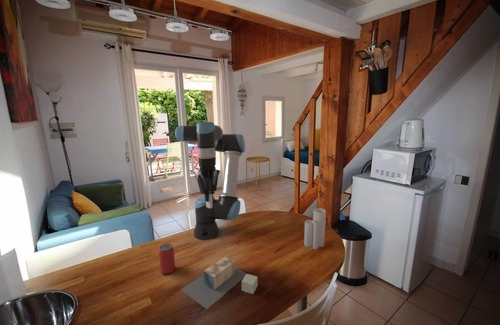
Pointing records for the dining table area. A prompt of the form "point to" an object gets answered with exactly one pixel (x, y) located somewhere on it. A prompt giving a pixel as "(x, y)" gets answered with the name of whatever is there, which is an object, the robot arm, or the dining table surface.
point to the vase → (315, 229)
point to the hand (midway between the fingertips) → (209, 207)
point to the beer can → (166, 259)
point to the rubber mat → (208, 295)
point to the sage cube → (249, 283)
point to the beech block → (219, 272)
